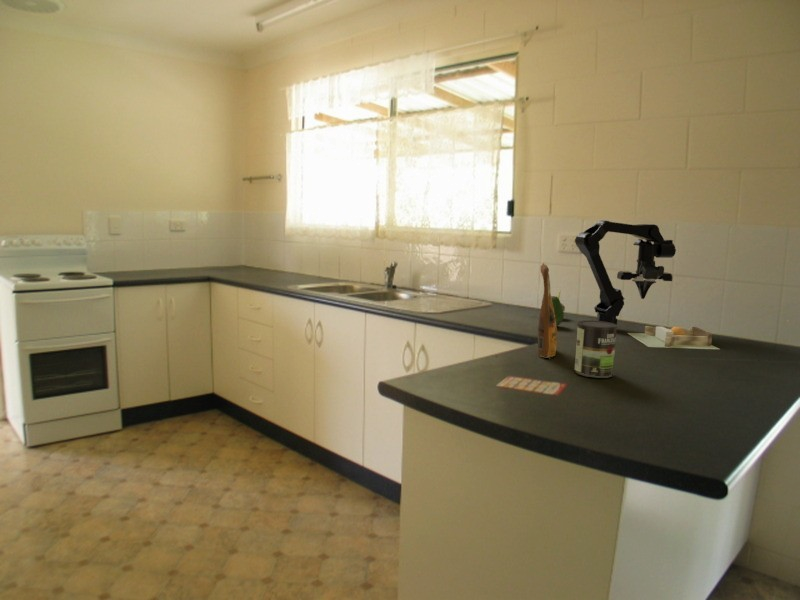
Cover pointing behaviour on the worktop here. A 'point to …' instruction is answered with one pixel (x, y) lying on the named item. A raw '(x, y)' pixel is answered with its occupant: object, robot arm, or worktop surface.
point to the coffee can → (595, 347)
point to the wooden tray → (684, 337)
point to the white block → (663, 333)
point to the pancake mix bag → (547, 320)
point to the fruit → (557, 310)
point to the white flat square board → (655, 342)
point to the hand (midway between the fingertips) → (642, 298)
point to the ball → (678, 331)
